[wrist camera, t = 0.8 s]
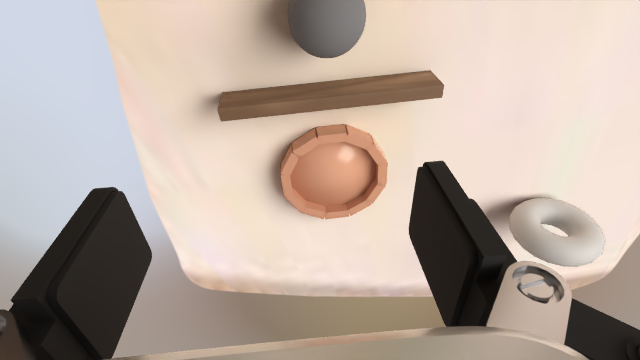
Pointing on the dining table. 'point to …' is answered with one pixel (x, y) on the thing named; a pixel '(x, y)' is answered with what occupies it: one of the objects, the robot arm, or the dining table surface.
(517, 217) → the donut
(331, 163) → the bowl
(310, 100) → the wall
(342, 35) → the ball
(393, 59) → the dining table surface
